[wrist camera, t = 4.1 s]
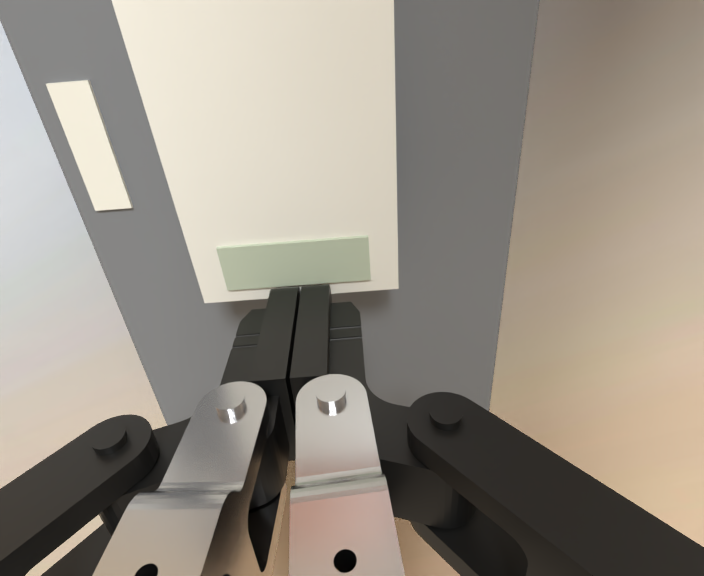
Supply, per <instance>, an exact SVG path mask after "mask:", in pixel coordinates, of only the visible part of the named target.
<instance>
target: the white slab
mask: <svg viewBox="0 0 704 576" xmlns="http://www.w3.org/2000/svg"><path fill="white" fill-rule="evenodd" d="M112 4H113V7H114V10H115V13H116V17H117V20H118V23H119V26H120V30H121V33H122V36H123V39H124V43H125V46H126V49H127V52H128V56H129V59H130V62H131V65H132V69H133V72H134V75H135V78H136V82H137V85H138V88H139V91H140V95H141V98H142V101H143V104H144V108H145V111H146V114H147V117H148V121H149V124H150V127H151V130H152V134H153V137H154V140H155V143H156V147H157V150H158V153H159V156H160V160H161V163H162V166H163V169H164V173H165V176H166V179H167V182H168V186H169V189H170V192H171V195H172V199H173V202H174V205H175V208H176V212H177V215H178V218H179V221H180V225H181V228H182V231H183V234H184V238H185V241H186V244H187V247H188V251H189V254H190V257H191V260H192V264H193V267H194V270H195V273H196V277H197V280H198V283H199V286H200V290H201V293H202V296H203V299H204V303H215V302H229V301H242V300H255V299H268V297H269V293H270V290H271V289H278V288H291V287H300V290H301V287H302V286H315V285H327V284H330V289H331V294H335V293H349V292H362V291H375V290H389V289H399V284H398V223H397V161H396V100H395V39H394V0H112Z"/></svg>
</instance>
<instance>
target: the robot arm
mask: <svg viewBox="0 0 704 576" xmlns="http://www.w3.org/2000/svg"><path fill="white" fill-rule="evenodd" d="M291 460H296V481H295V486H292V487H291V492H290V526H289V576H405V572H404V567H403V562H402V557H401V552H400V547H399V542H398V537H397V531H396V526H395V521H394V517H398V518H402V519H406V520H410V522H411V524H412V526H413V528H414V530H415V531H416V532H417V533H418V534H419V536H421V537H422V538H423V539H424V540H425V541H426V542H427V543H428V544H429V545H430V546H431V547H432V548H433V549H434V550H435V551H436V552H437V553H438V554H439V555H440V556H441V557H442V558H443V559H444V560H445V561H446V562H447V563H448V564H449V565H450V566H451V567H452V568H453V569H454V570H456V571H457V572H458V573H459V574H460V575H461V576H704V547H702V546H701V545H699V544H698V543H696V542H694V541H693V540H691V539H690V538H688V537H686V536H685V535H683V534H682V533H680V532H679V531H677V530H675V529H674V528H672V527H671V526H669V525H668V524H666V523H664V522H663V521H661V520H660V519H658V518H656V517H655V516H653V515H652V514H650V513H649V512H647V511H645V510H644V509H642V508H641V507H639V506H637V505H636V504H634V503H633V502H631V501H630V500H628V499H626V498H625V497H623V496H622V495H620V494H619V493H617V492H615V491H614V490H612V489H611V488H609V487H607V486H606V485H604V484H603V483H601V482H600V481H598V480H596V479H595V478H593V477H592V476H590V475H588V474H587V473H585V472H584V471H582V470H581V469H579V468H577V467H576V466H574V465H573V464H571V463H570V462H568V461H566V460H565V459H563V458H562V457H560V456H558V455H557V454H555V453H554V452H552V451H551V450H549V449H547V448H546V447H544V446H543V445H541V444H539V443H538V442H536V441H535V440H533V439H532V438H530V437H528V436H527V435H525V434H524V433H522V432H521V431H519V430H517V429H516V428H514V427H513V426H511V425H509V424H508V423H506V422H505V421H503V420H502V419H500V418H498V417H497V416H495V415H494V414H492V413H491V412H489V411H487V410H486V409H484V408H483V407H481V406H479V405H478V404H476V403H475V402H473V401H472V400H470V399H468V398H466V397H464V396H462V395H459V394H455V393H451V392H434V393H430V394H426V395H424V396H422V397H420V398H418V399H417V400H416V401H415V402H413V404H412V405H411V406H410V407H407V406H401V405H396V404H392V403H389V402H386V401H384V400H382V399H380V398H378V397H377V396H376V395H374V394H373V393H372V392H371V390H370V389H369V388H368V385H367V383H366V378H365V366H364V354H363V342H362V330H361V317H360V312H359V310H358V309H357V308H356V307H355V306H354V305H353V303H352V302H339V303H332V297H331V289H330V284H327V285H315V286H302V287H301V290H300V287H291V288H278V289H271V290H270V293H269V297H268V302H267V306H266V308H265V309H252V310H251V311H250V312H249V313H248V314H247V315H246V316H245V317H244V318H243V319H242V320H241V321H240V323H239V326H238V329H237V333H236V338H235V339H234V342H233V345H232V349H231V352H230V355H229V358H228V361H227V364H226V367H225V371H224V374H223V377H222V380H221V383H220V386H219V387H216V388H215V389H213V390H211V391H210V392H208V393H207V394H206V395H205V396H204V397H203V398H202V399H201V400H200V401H199V403H198V404H197V406H196V408H195V410H194V413H193V415H192V417H190V418H188V419H186V420H183V421H180V422H177V423H174V424H171V425H168V426H165V427H162V428H158V429H155V430H152V428H151V426H150V424H149V422H148V421H147V420H146V419H145V418H143V417H141V416H137V415H121V416H117V417H113V418H110V419H107V420H105V421H103V422H101V423H99V424H97V425H95V426H94V427H92V428H91V429H89V430H88V431H86V432H85V433H83V434H82V435H80V436H79V437H77V438H76V439H74V440H73V441H71V442H70V443H68V444H67V445H65V446H64V447H62V448H61V449H59V450H58V451H56V452H55V453H53V454H52V455H50V456H49V457H47V458H46V459H44V460H43V461H41V462H40V463H38V464H37V465H35V466H34V467H32V468H31V469H29V470H28V471H26V472H25V473H23V474H22V475H20V476H19V477H17V478H16V479H14V480H13V481H11V482H10V483H8V484H7V485H6V486H4V487H3V488H1V489H0V576H25V575H26V574H27V573H28V572H29V570H31V569H32V568H33V567H34V566H35V565H36V564H38V563H39V562H40V561H41V560H43V559H44V558H45V557H46V556H48V555H49V554H50V553H51V552H53V551H54V550H55V549H56V548H57V547H59V546H60V545H61V544H62V543H64V542H65V541H66V540H67V539H69V538H70V537H71V536H72V535H74V534H75V533H76V532H77V531H78V530H80V529H81V528H82V527H83V526H85V525H86V524H87V523H88V522H90V521H91V520H92V519H93V518H95V517H96V516H97V515H98V514H99V516H100V518H101V519H102V521H103V523H104V524H102V525H101V526H100V527H99V528H98V529H96V530H95V531H94V532H93V533H92V534H90V535H89V536H88V537H87V538H86V539H84V540H83V541H82V542H81V543H80V544H78V545H77V546H76V547H75V548H74V549H72V550H71V551H70V552H69V553H67V554H66V555H65V556H64V557H63V558H61V559H60V560H59V561H58V562H57V563H55V564H54V565H53V566H52V567H51V568H49V569H48V570H47V571H46V572H45V573H43V574H42V575H41V576H272V573H273V568H274V562H275V557H276V551H277V546H278V540H279V535H280V530H281V524H282V519H283V513H284V508H285V502H286V497H287V486H286V475H287V466H288V461H291Z"/></svg>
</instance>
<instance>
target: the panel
mask: <svg viewBox="0 0 704 576" xmlns="http://www.w3.org/2000/svg"><path fill="white" fill-rule="evenodd" d="M539 1H540V0H394V39H395V100H396V161H397V223H398V284H399V289H389V290H375V291H362V292H349V293H335V294H331V297H332V303H339V302H352V303H353V305H354V306H355V307H356V308H357V309H358V310H359V312H360V317H361V330H362V342H363V354H364V366H365V378H366V383H367V385H368V388H369V389H370V390H371V392H372V393H373V394H374V395H376V396H377V397H378V398H380V399H382V400H384V401H386V402H389V403H392V404H396V405H401V406H407V407H410V406H411V405H412V404H413V402H415V401H416V400H417V399H418V398H420V397H422V396H424V395H426V394H430V393H434V392H451V393H455V394H459V395H462V396H464V397H466V398H468V399H470V400H472V401H473V402H475V403H476V404H478V405H479V406H481V407H483V408H484V409H486V410H487V411H489V407H490V399H491V390H492V382H493V374H494V366H495V358H496V350H497V342H498V334H499V326H500V317H501V309H502V301H503V293H504V285H505V277H506V269H507V261H508V252H509V244H510V236H511V228H512V220H513V212H514V204H515V196H516V188H517V179H518V171H519V163H520V155H521V147H522V139H523V131H524V123H525V114H526V106H527V98H528V90H529V82H530V74H531V66H532V58H533V50H534V41H535V33H536V25H537V17H538V9H539ZM0 21H1V23H2V26H3V28H4V30H5V33H6V35H7V38H8V40H9V42H10V45H11V47H12V50H13V52H14V55H15V57H16V59H17V62H18V64H19V67H20V69H21V72H22V74H23V76H24V79H25V81H26V84H27V86H28V89H29V91H30V93H31V96H32V98H33V101H34V103H35V106H36V108H37V110H38V113H39V115H40V118H41V120H42V122H43V125H44V127H45V130H46V132H47V135H48V137H49V139H50V142H51V144H52V147H53V149H54V152H55V154H56V156H57V159H58V161H59V164H60V166H61V169H62V171H63V173H64V176H65V178H66V181H67V183H68V186H69V188H70V190H71V193H72V195H73V198H74V200H75V202H76V205H77V207H78V210H79V212H80V215H81V217H82V219H83V222H84V224H85V227H86V229H87V232H88V234H89V236H90V239H91V241H92V244H93V246H94V249H95V251H96V253H97V256H98V258H99V261H100V263H101V265H102V268H103V270H104V273H105V275H106V278H107V280H108V282H109V285H110V287H111V290H112V292H113V295H114V297H115V299H116V302H117V304H118V307H119V309H120V312H121V314H122V316H123V319H124V321H125V324H126V326H127V329H128V331H129V333H130V336H131V338H132V341H133V343H134V345H135V348H136V350H137V353H138V355H139V358H140V360H141V362H142V365H143V367H144V370H145V372H146V375H147V377H148V379H149V382H150V384H151V387H152V389H153V392H154V394H155V396H156V399H157V401H158V404H159V406H160V409H161V411H162V413H163V416H164V418H165V421H166V423H167V425H171V424H174V423H177V422H180V421H183V420H186V419H188V418H190V417H192V415H193V413H194V410H195V408H196V406H197V404H198V403H199V401H200V400H201V399H202V398H203V397H204V396H205V395H206V394H207V393H208V392H210V391H211V390H213V389H215V388H216V387H219V386H220V383H221V380H222V377H223V374H224V371H225V367H226V364H227V361H228V358H229V355H230V352H231V349H232V345H233V342H234V339H235V338H236V333H237V329H238V326H239V323H240V321H241V320H242V319H243V318H244V317H245V316H246V315H247V314H248V313H249V312H250V311H251V310H252V309H265V308H266V306H267V302H268V299H255V300H242V301H229V302H215V303H204V299H203V296H202V293H201V290H200V286H199V283H198V280H197V277H196V273H195V270H194V267H193V264H192V260H191V257H190V254H189V251H188V247H187V244H186V241H185V238H184V234H183V231H182V228H181V225H180V221H179V218H178V215H177V212H176V208H175V205H174V202H173V199H172V195H171V192H170V189H169V186H168V182H167V179H166V176H165V173H164V169H163V166H162V163H161V160H160V156H159V153H158V150H157V147H156V143H155V140H154V137H153V134H152V130H151V127H150V124H149V121H148V117H147V114H146V111H145V108H144V104H143V101H142V98H141V95H140V91H139V88H138V85H137V82H136V78H135V75H134V72H133V69H132V65H131V62H130V59H129V56H128V52H127V49H126V46H125V43H124V39H123V36H122V33H121V30H120V26H119V23H118V20H117V17H116V13H115V10H114V7H113V4H112V0H0Z"/></svg>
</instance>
